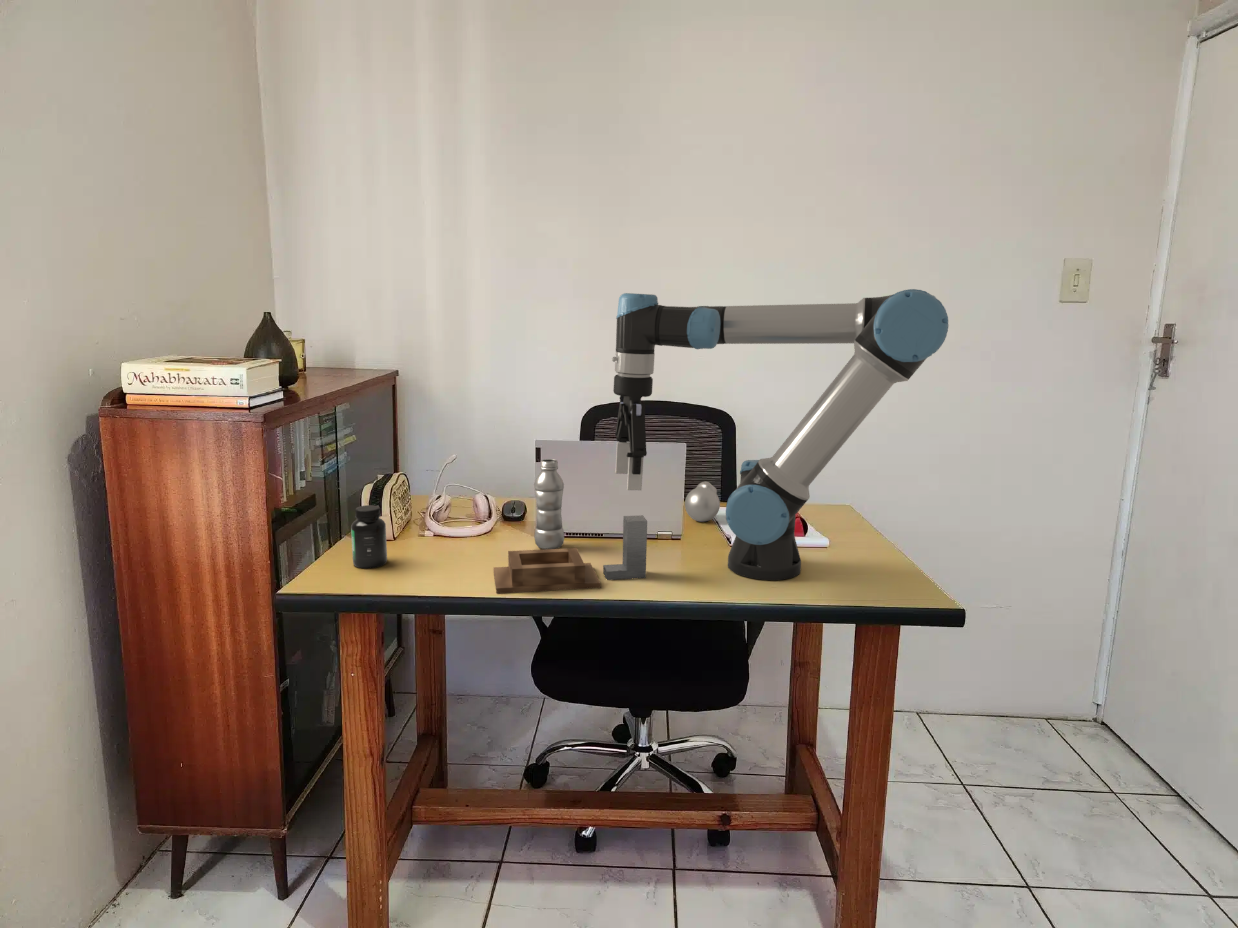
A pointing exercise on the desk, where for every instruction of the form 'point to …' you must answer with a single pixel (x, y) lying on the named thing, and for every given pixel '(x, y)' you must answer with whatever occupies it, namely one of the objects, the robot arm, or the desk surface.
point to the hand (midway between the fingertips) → (627, 481)
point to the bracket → (631, 551)
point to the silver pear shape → (702, 502)
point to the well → (544, 571)
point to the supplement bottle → (368, 538)
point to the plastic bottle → (549, 506)
